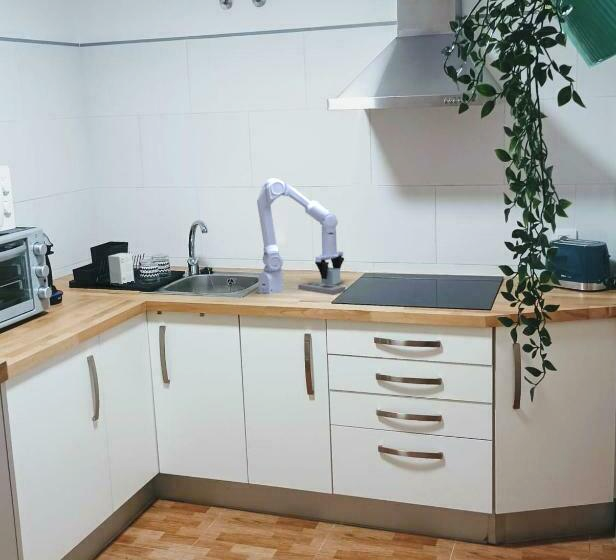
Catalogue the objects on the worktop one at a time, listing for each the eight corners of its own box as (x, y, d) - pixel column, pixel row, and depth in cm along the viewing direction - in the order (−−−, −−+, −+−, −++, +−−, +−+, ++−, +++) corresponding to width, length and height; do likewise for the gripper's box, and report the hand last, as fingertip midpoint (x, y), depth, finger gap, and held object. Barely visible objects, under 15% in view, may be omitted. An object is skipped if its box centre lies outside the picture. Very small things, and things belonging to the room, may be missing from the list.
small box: (123, 282, 346) (120, 252, 343) (134, 283, 343) (132, 253, 340) (110, 286, 339) (107, 255, 336) (122, 287, 336) (119, 256, 333)
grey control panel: (333, 296, 304) (333, 289, 304) (298, 290, 316) (298, 284, 316) (345, 293, 309) (345, 285, 309) (310, 287, 321) (309, 280, 321)
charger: (333, 288, 318) (332, 268, 316) (321, 287, 321) (321, 267, 320) (340, 286, 321) (339, 266, 319) (329, 285, 325) (328, 265, 323)
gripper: (324, 246, 310) (326, 281, 313) (348, 241, 320) (349, 274, 323) (311, 245, 314) (312, 279, 317) (335, 240, 325) (336, 273, 328)
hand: (330, 277), depth 320 cm, fingers open, 7 cm apart
